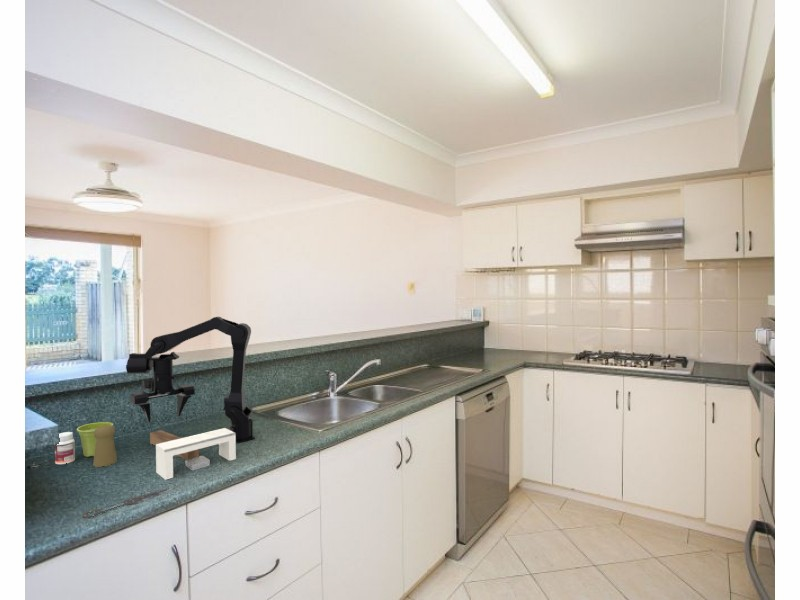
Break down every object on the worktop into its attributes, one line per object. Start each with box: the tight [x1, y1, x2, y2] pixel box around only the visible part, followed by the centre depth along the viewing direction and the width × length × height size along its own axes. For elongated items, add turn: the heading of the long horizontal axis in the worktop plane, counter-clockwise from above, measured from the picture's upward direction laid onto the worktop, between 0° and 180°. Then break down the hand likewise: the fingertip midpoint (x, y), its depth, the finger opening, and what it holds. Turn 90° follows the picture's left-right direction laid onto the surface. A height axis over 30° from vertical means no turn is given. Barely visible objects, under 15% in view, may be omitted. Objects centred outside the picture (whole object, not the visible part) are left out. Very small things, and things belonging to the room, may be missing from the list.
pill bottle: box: [54, 431, 76, 465], centre depth 133 cm, size 5×5×8 cm
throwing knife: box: [82, 487, 175, 519], centre depth 108 cm, size 4×20×1 cm, turn 138°
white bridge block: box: [155, 427, 237, 481], centre depth 130 cm, size 20×7×8 cm, turn 137°
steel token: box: [184, 455, 211, 471], centre depth 130 cm, size 5×5×2 cm
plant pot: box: [76, 421, 114, 458], centre depth 139 cm, size 9×9×9 cm
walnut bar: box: [149, 429, 200, 460], centre depth 142 cm, size 4×24×4 cm, turn 54°
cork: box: [92, 425, 118, 468], centre depth 132 cm, size 6×6×11 cm
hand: (164, 419), depth 148 cm, fingers open, 9 cm apart
